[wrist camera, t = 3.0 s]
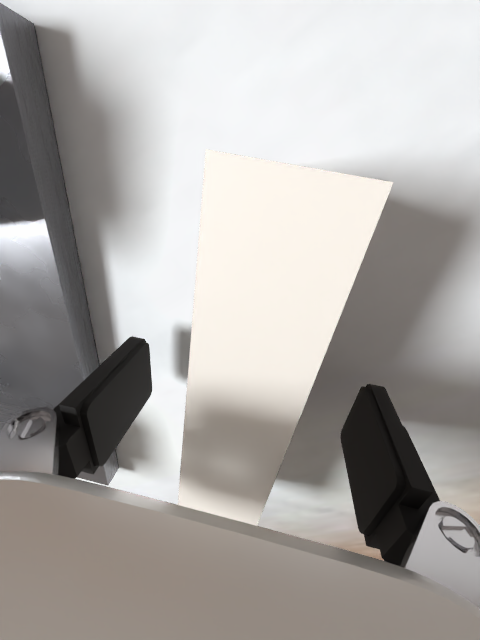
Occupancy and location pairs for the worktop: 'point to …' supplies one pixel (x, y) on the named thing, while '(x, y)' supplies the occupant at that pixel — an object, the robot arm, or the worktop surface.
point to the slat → (264, 317)
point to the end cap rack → (37, 246)
